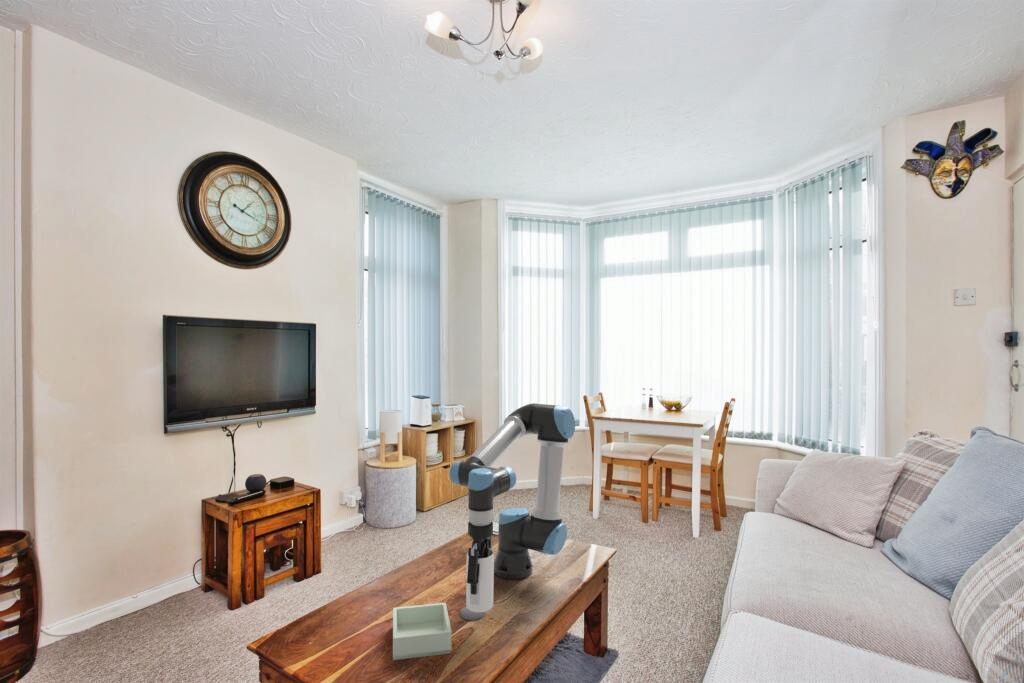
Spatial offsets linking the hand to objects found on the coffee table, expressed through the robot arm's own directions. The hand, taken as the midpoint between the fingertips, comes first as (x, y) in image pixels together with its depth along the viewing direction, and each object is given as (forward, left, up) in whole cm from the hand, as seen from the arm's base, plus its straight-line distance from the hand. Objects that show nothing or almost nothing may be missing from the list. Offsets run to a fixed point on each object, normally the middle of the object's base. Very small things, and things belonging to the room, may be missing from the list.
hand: (479, 595), depth 150 cm
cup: (0, 0, -3) cm, 3 cm away
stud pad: (0, -11, -11) cm, 15 cm away
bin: (+17, 0, -11) cm, 21 cm away
